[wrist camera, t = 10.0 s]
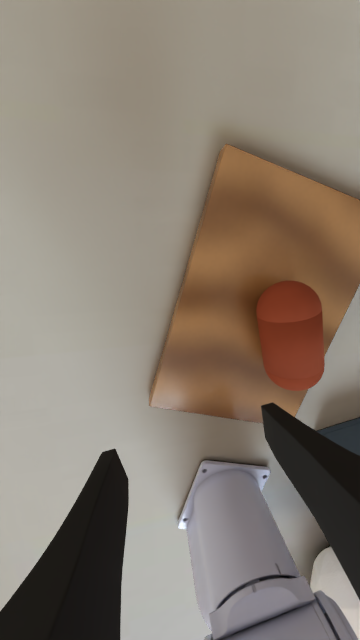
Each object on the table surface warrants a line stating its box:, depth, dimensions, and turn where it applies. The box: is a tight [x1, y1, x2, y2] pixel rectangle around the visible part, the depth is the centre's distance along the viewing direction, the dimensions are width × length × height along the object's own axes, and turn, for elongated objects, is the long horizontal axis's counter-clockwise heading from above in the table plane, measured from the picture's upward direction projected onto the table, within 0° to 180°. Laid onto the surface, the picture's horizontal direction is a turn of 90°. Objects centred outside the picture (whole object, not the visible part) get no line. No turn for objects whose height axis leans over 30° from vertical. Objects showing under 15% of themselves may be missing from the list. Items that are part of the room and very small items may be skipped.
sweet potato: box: [256, 281, 324, 391], centre depth 17 cm, size 8×4×4 cm, turn 14°
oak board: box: [149, 144, 360, 423], centre depth 19 cm, size 20×14×1 cm
